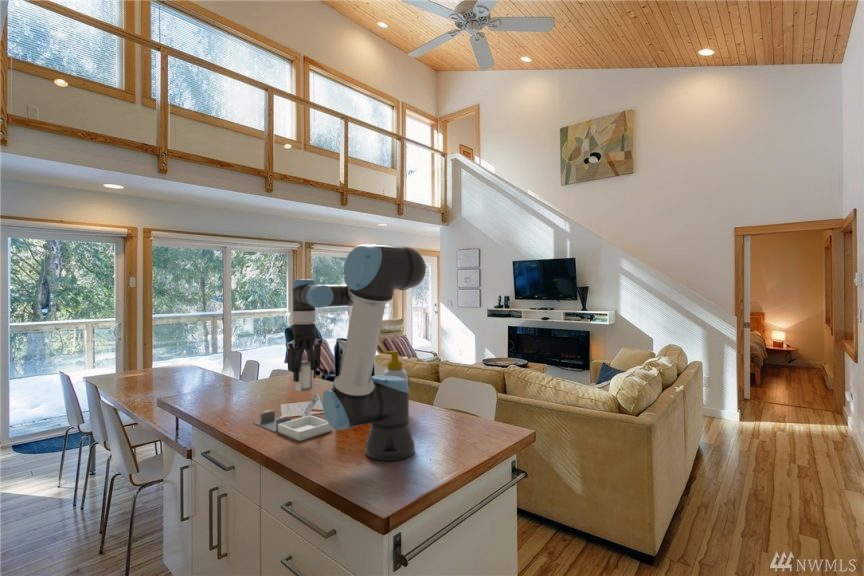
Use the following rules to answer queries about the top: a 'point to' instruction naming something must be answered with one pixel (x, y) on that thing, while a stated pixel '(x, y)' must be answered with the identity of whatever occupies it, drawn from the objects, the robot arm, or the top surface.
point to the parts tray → (304, 428)
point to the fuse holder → (271, 420)
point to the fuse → (306, 375)
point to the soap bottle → (395, 366)
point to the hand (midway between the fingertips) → (304, 389)
